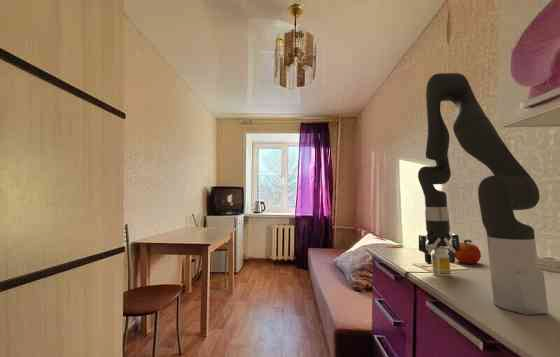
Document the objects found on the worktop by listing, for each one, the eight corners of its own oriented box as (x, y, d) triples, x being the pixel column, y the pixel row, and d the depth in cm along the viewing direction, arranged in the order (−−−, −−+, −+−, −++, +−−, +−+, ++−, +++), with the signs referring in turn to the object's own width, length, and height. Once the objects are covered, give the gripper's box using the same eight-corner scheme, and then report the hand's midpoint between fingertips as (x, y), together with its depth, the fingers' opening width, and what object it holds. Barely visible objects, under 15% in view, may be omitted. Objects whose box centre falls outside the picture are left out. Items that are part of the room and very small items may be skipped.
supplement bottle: (430, 274, 93) (428, 247, 94) (436, 271, 96) (434, 245, 97) (447, 277, 89) (445, 249, 90) (452, 274, 92) (450, 247, 93)
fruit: (472, 260, 112) (470, 237, 113) (487, 265, 103) (484, 240, 104) (449, 260, 113) (447, 237, 114) (462, 265, 104) (459, 240, 105)
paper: (468, 269, 98) (468, 268, 98) (428, 271, 97) (428, 270, 97) (448, 262, 109) (448, 261, 109) (412, 264, 108) (412, 263, 108)
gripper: (424, 220, 91) (428, 267, 89) (463, 219, 91) (466, 265, 90) (412, 218, 98) (415, 261, 97) (448, 217, 99) (451, 260, 98)
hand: (440, 263), depth 93 cm, fingers open, 8 cm apart
